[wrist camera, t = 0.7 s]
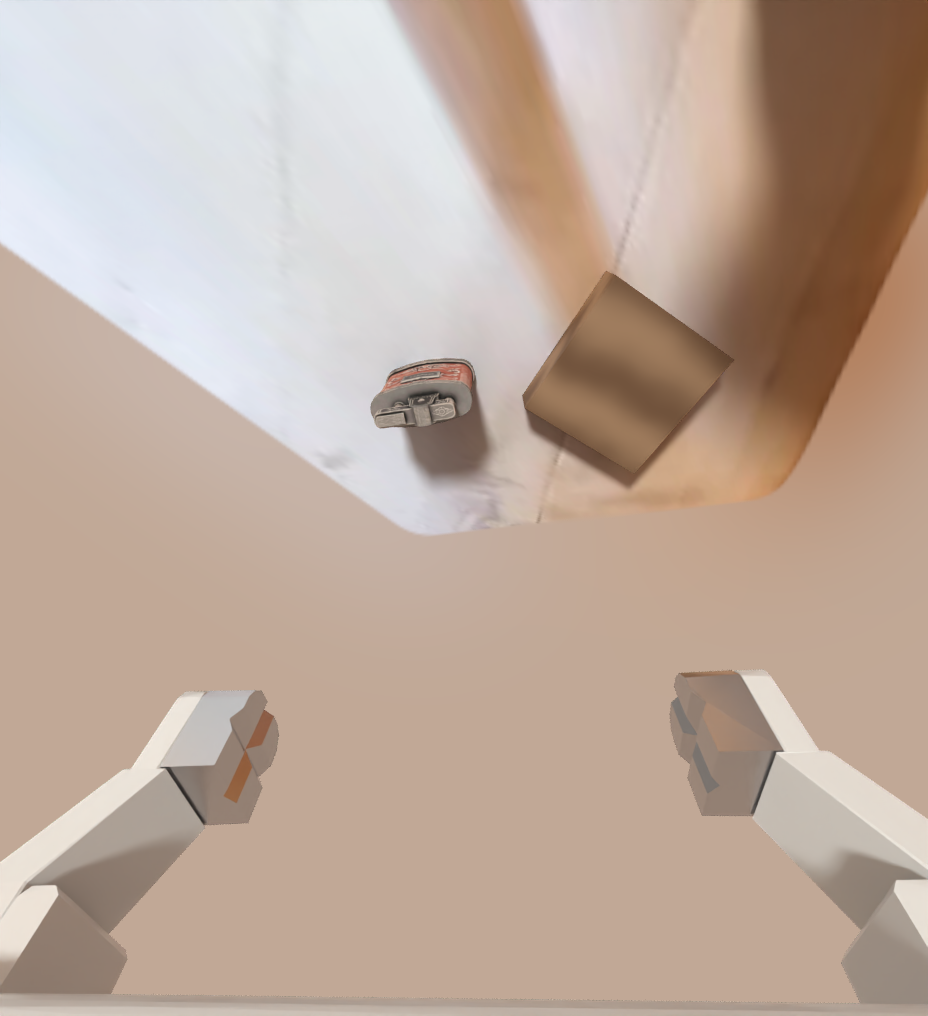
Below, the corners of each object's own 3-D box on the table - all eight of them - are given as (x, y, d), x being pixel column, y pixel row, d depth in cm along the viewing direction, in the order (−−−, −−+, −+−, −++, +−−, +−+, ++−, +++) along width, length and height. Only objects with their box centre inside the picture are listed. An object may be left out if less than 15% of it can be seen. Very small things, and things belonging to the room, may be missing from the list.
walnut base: (606, 270, 39) (615, 275, 36) (716, 349, 42) (734, 359, 39) (522, 395, 45) (524, 408, 42) (624, 457, 47) (634, 473, 44)
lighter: (471, 352, 43) (467, 386, 34) (477, 389, 44) (474, 430, 36) (383, 366, 44) (357, 402, 35) (392, 402, 45) (370, 445, 37)
